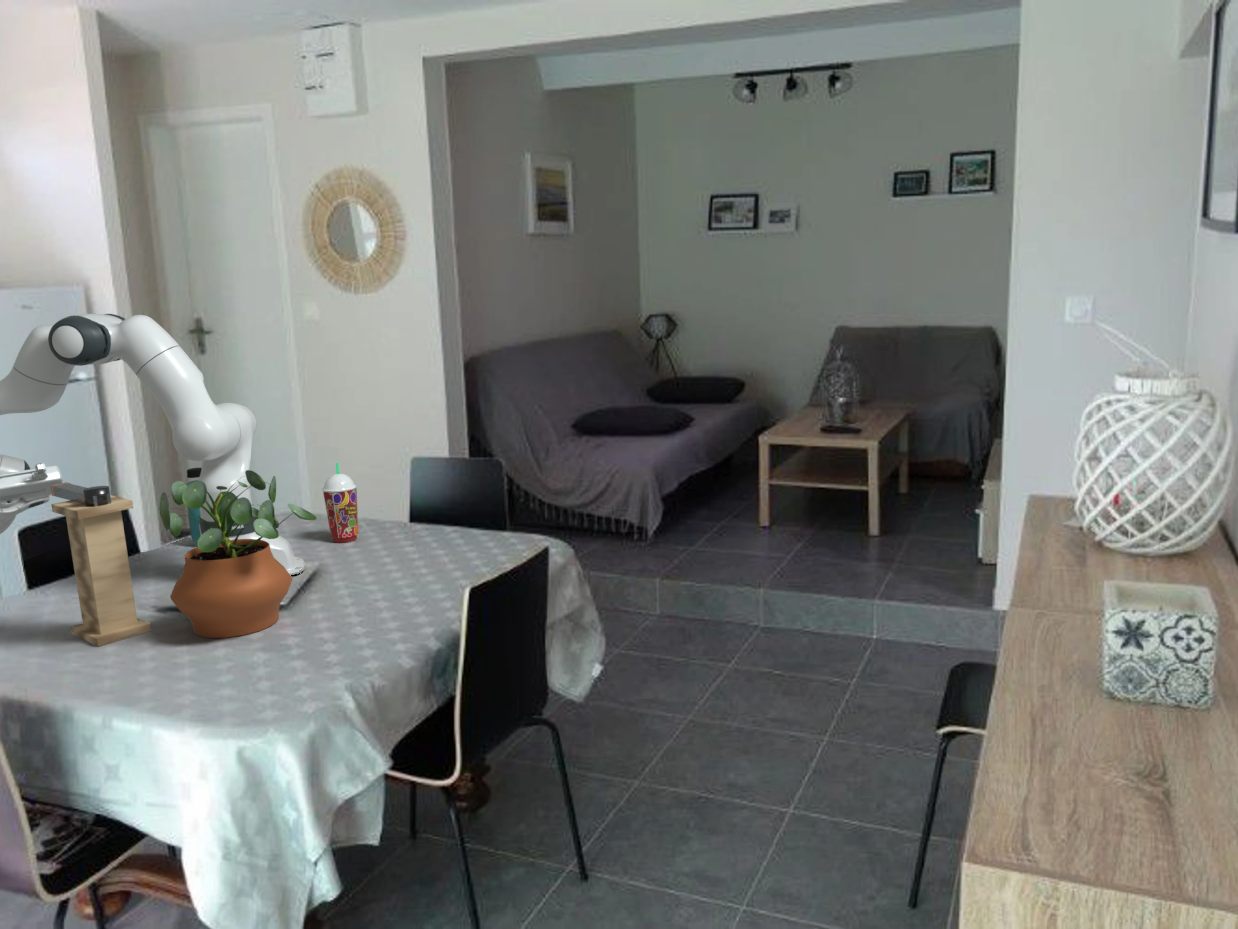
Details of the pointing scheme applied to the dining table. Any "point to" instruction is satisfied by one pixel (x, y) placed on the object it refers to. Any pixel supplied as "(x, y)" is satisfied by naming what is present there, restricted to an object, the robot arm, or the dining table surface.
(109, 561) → the stand
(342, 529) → the smoothie
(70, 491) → the grey rod with knob
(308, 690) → the dining table surface
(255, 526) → the potted plant
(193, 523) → the beverage bottle
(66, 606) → the dining table surface
